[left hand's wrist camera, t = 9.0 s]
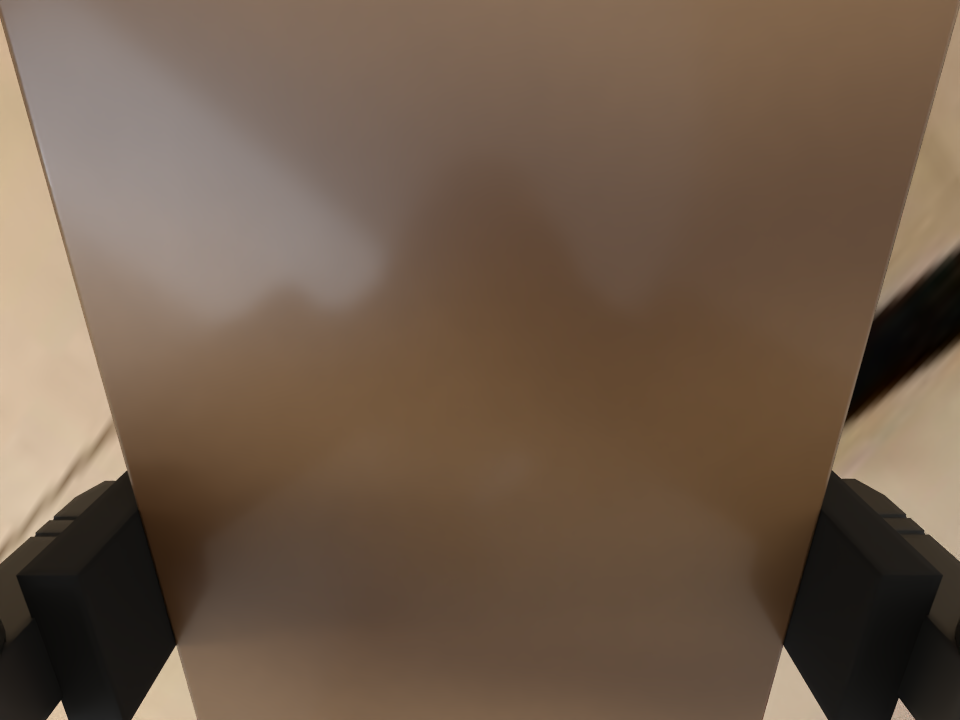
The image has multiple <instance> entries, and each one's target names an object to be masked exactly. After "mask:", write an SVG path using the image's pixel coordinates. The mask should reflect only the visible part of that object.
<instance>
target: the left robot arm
mask: <svg viewBox="0 0 960 720" xmlns="http://www.w3.org/2000/svg"><path fill="white" fill-rule="evenodd" d="M783 645H784V647H785V649H786V650H787V652H788V654H789V655H790V657H791V659H792V660H793V662H794V664H795V665H796V667H797V669H798V670H799V672H800V674H801V675H802V677H803V679H804V680H805V682H806V684H807V685H808V687H809V689H810V690H811V692H812V694H813V695H814V697H815V699H816V700H817V702H818V704H819V705H820V707H821V709H822V710H823V712H824V714H825V715H826V717H827V719H828V720H891V718H892V715H893V712H894V709H895V707H896V704H897V701H898V698H900V700H901V701H902V702H903V704H904V705H905V706H906V708H907V709H908V710H909V712H910V713H911V714H912V716H913V717H914V718H915V720H960V561H958V560H957V559H956V558H955V557H954V556H953V555H952V554H950V553H949V552H948V551H947V550H946V549H945V548H944V547H943V546H941V545H940V544H939V543H938V542H937V541H936V540H935V539H933V538H932V537H931V536H930V535H925V533H924V530H923V529H922V528H921V527H920V526H919V525H918V524H917V523H915V522H914V521H913V520H912V519H911V518H906V514H905V513H904V512H903V511H902V510H901V509H900V508H898V507H897V506H896V505H895V504H894V503H893V502H892V501H890V500H889V499H888V498H887V497H886V496H885V495H883V494H881V493H880V492H878V491H876V490H874V489H872V488H870V487H869V486H867V485H865V484H863V483H861V482H860V481H858V480H856V479H841V478H840V477H839V476H838V475H837V474H835V473H834V472H833V471H832V470H831V474H830V477H829V481H828V485H827V488H826V492H825V495H824V499H823V503H822V506H821V510H820V514H819V517H818V521H817V524H816V528H815V532H814V535H813V539H812V543H811V546H810V550H809V553H808V557H807V561H806V564H805V568H804V572H803V575H802V579H801V582H800V586H799V590H798V593H797V597H796V601H795V604H794V608H793V611H792V615H791V619H790V622H789V626H788V629H787V633H786V637H785V640H784V644H783ZM175 646H176V642H175V638H174V635H173V631H172V627H171V624H170V620H169V617H168V613H167V610H166V606H165V603H164V599H163V595H162V592H161V588H160V585H159V581H158V578H157V574H156V571H155V567H154V563H153V560H152V556H151V553H150V549H149V546H148V542H147V538H146V535H145V531H144V528H143V524H142V521H141V517H140V514H139V510H138V506H137V503H136V499H135V496H134V492H133V489H132V485H131V481H130V478H129V474H128V471H126V472H125V473H124V474H123V475H122V476H121V477H120V478H119V479H118V480H116V481H104V482H102V483H100V484H99V485H97V486H95V487H93V488H91V489H89V490H88V491H86V492H84V493H82V494H80V495H79V496H77V497H75V498H74V499H73V500H72V501H71V502H70V503H68V504H67V505H66V506H65V507H64V508H63V509H62V510H61V511H59V512H58V513H57V514H56V515H55V516H54V519H53V520H49V521H48V522H47V523H46V524H45V525H44V526H43V527H41V528H40V529H39V530H38V531H37V532H36V535H35V537H30V538H29V539H28V540H27V541H26V542H25V543H23V544H22V545H21V546H20V547H19V548H18V549H17V550H16V551H14V552H13V553H12V554H11V555H10V556H9V557H8V558H7V559H5V560H4V561H3V562H2V563H1V564H0V720H46V719H47V718H48V717H49V715H50V714H51V713H52V711H53V710H54V709H55V707H56V706H57V705H58V703H59V702H60V701H62V703H63V706H64V709H65V712H66V714H67V717H68V720H131V719H132V718H133V716H134V714H135V713H136V711H137V709H138V708H139V706H140V704H141V703H142V701H143V699H144V698H145V696H146V694H147V693H148V691H149V689H150V688H151V686H152V684H153V683H154V681H155V679H156V678H157V676H158V674H159V673H160V671H161V669H162V668H163V666H164V664H165V663H166V661H167V659H168V658H169V656H170V654H171V653H172V651H173V649H174V648H175Z"/></svg>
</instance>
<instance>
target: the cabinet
mask: <svg viewBox="0 0 960 720" xmlns="http://www.w3.org/2000/svg"><path fill="white" fill-rule="evenodd" d="M959 7H960V0H0V18H1V22H2V26H3V29H4V33H5V36H6V40H7V43H8V47H9V50H10V54H11V58H12V61H13V65H14V68H15V72H16V75H17V79H18V83H19V86H20V90H21V93H22V97H23V100H24V104H25V107H26V111H27V115H28V118H29V122H30V125H31V129H32V132H33V136H34V140H35V143H36V147H37V150H38V154H39V157H40V161H41V164H42V168H43V172H44V175H45V179H46V182H47V186H48V189H49V193H50V197H51V200H52V204H53V207H54V211H55V214H56V218H57V221H58V225H59V229H60V232H61V236H62V239H63V243H64V246H65V250H66V254H67V257H68V261H69V264H70V268H71V271H72V275H73V278H74V282H75V286H76V289H77V293H78V296H79V300H80V303H81V307H82V310H83V314H84V318H85V321H86V325H87V328H88V332H89V335H90V339H91V343H92V346H93V350H94V353H95V357H96V360H97V364H98V367H99V371H100V375H101V378H102V382H103V385H104V389H105V392H106V396H107V400H108V403H109V407H110V410H111V414H112V417H113V421H114V424H115V428H116V432H117V435H118V439H119V442H120V446H121V449H122V453H123V457H124V460H125V464H126V467H127V471H128V474H129V478H130V481H131V485H132V489H133V492H134V496H135V499H136V503H137V506H138V510H139V514H140V517H141V521H142V524H143V528H144V531H145V535H146V538H147V542H148V546H149V549H150V553H151V556H152V560H153V563H154V567H155V571H156V574H157V578H158V581H159V585H160V588H161V592H162V595H163V599H164V603H165V606H166V610H167V613H168V617H169V620H170V624H171V627H172V631H173V635H174V638H175V642H176V645H177V649H178V652H179V656H180V660H181V663H182V667H183V670H184V674H185V677H186V681H187V684H188V688H189V692H190V695H191V699H192V702H193V706H194V709H195V713H196V717H197V720H763V716H764V713H765V709H766V706H767V702H768V698H769V695H770V691H771V687H772V684H773V680H774V677H775V673H776V669H777V666H778V662H779V658H780V655H781V651H782V648H783V644H784V640H785V637H786V633H787V629H788V626H789V622H790V619H791V615H792V611H793V608H794V604H795V601H796V597H797V593H798V590H799V586H800V582H801V579H802V575H803V572H804V568H805V564H806V561H807V557H808V553H809V550H810V546H811V543H812V539H813V535H814V532H815V528H816V524H817V521H818V517H819V514H820V510H821V506H822V503H823V499H824V495H825V492H826V488H827V485H828V481H829V477H830V474H831V470H832V467H833V463H834V459H835V456H836V452H837V448H838V445H839V441H840V438H841V434H842V430H843V427H844V423H845V419H846V416H847V412H848V409H849V405H850V401H851V398H852V394H853V390H854V387H855V383H856V380H857V376H858V372H859V369H860V365H861V361H862V358H863V354H864V351H865V347H866V343H867V340H868V336H869V333H870V329H871V325H872V322H873V318H874V314H875V311H876V307H877V304H878V300H879V296H880V293H881V289H882V285H883V282H884V278H885V275H886V271H887V267H888V264H889V260H890V256H891V253H892V249H893V246H894V242H895V238H896V235H897V231H898V227H899V224H900V220H901V217H902V213H903V209H904V206H905V202H906V199H907V195H908V191H909V188H910V184H911V180H912V177H913V173H914V170H915V166H916V162H917V159H918V155H919V151H920V148H921V144H922V141H923V137H924V133H925V130H926V126H927V122H928V119H929V115H930V112H931V108H932V104H933V101H934V97H935V94H936V90H937V86H938V83H939V79H940V75H941V72H942V68H943V65H944V61H945V57H946V54H947V50H948V46H949V43H950V39H951V36H952V32H953V28H954V25H955V21H956V17H957V14H958V10H959Z"/></svg>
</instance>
